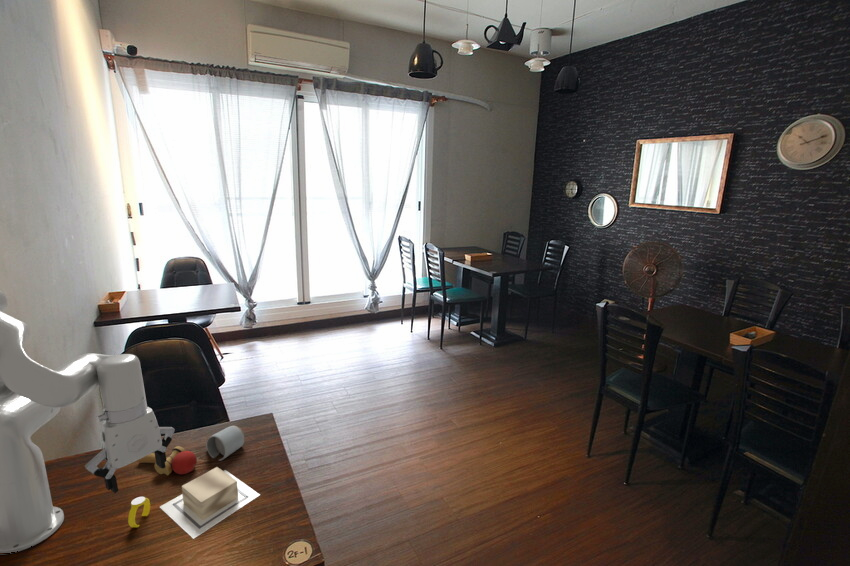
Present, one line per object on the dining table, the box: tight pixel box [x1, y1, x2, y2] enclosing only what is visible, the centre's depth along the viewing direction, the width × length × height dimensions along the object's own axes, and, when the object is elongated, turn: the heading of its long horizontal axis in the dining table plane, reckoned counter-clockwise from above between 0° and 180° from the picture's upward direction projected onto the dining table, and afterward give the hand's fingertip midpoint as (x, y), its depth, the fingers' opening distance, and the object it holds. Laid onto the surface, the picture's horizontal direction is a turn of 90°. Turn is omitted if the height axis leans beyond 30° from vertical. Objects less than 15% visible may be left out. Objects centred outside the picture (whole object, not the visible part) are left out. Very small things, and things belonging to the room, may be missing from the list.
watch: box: [127, 496, 151, 528], centre depth 96 cm, size 6×3×6 cm, turn 3°
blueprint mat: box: [159, 469, 261, 540], centre depth 104 cm, size 17×16×1 cm
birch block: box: [181, 466, 238, 520], centre depth 103 cm, size 9×9×5 cm
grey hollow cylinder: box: [205, 425, 246, 462], centre depth 123 cm, size 11×8×8 cm
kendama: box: [136, 445, 198, 476], centre depth 115 cm, size 8×6×18 cm
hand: (138, 477), depth 94 cm, fingers open, 9 cm apart
